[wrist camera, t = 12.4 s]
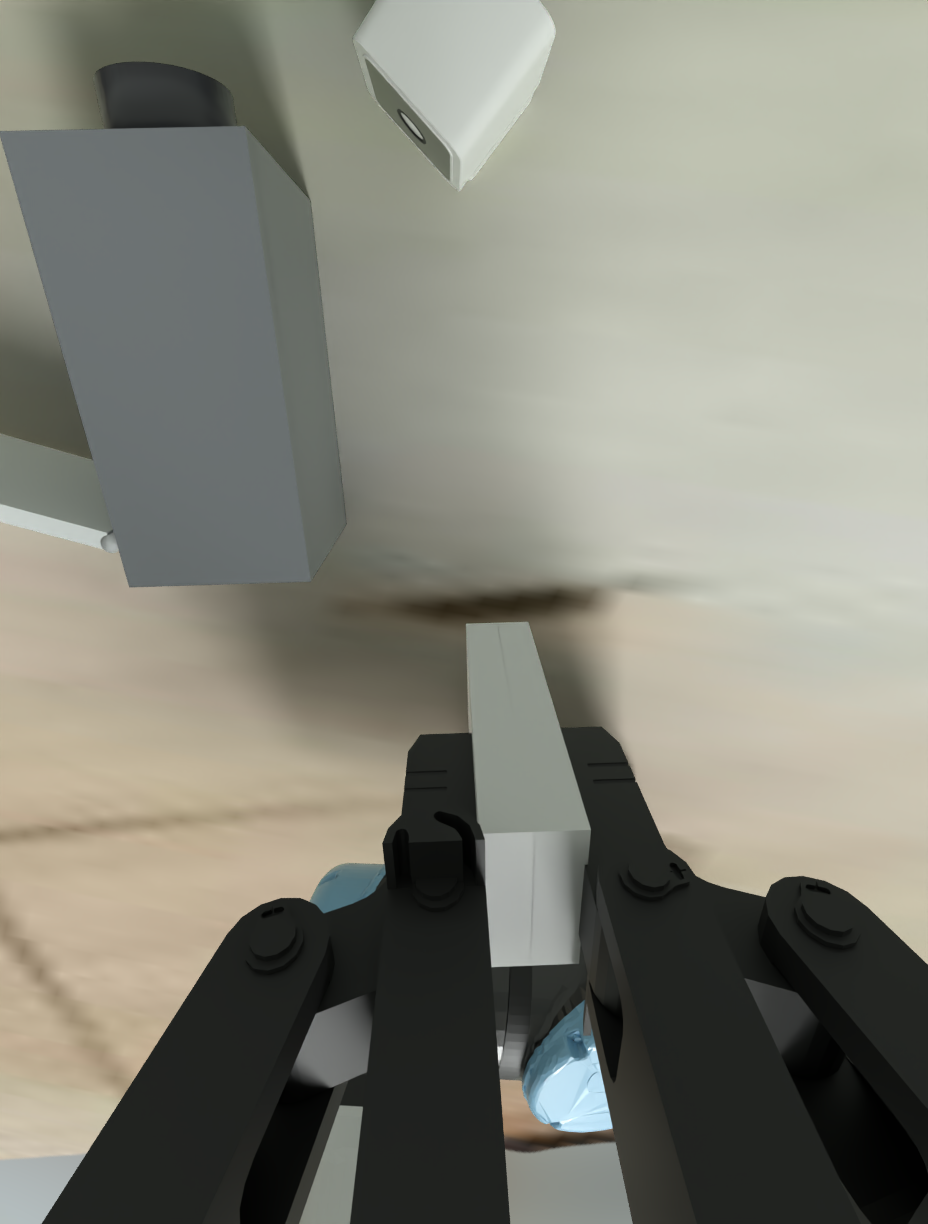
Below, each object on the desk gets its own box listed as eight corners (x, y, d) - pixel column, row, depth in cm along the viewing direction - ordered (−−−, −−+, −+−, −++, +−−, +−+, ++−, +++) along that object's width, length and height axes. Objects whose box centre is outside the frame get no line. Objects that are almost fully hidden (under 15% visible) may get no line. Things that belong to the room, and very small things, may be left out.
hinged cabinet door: (203, 491, 40) (62, 567, 26) (201, 506, 41) (61, 589, 26) (-18, 428, 38) (-310, 471, 24) (-17, 444, 39) (-304, 496, 24)
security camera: (376, 122, 33) (348, 31, 24) (457, 2, 31) (460, -148, 22) (457, 211, 35) (460, 159, 25) (539, 103, 33) (574, 4, 23)
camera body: (346, 523, 42) (310, 581, 31) (212, 527, 42) (129, 587, 31) (303, 138, 33) (230, 28, 22) (130, 142, 33) (-30, 33, 22)
